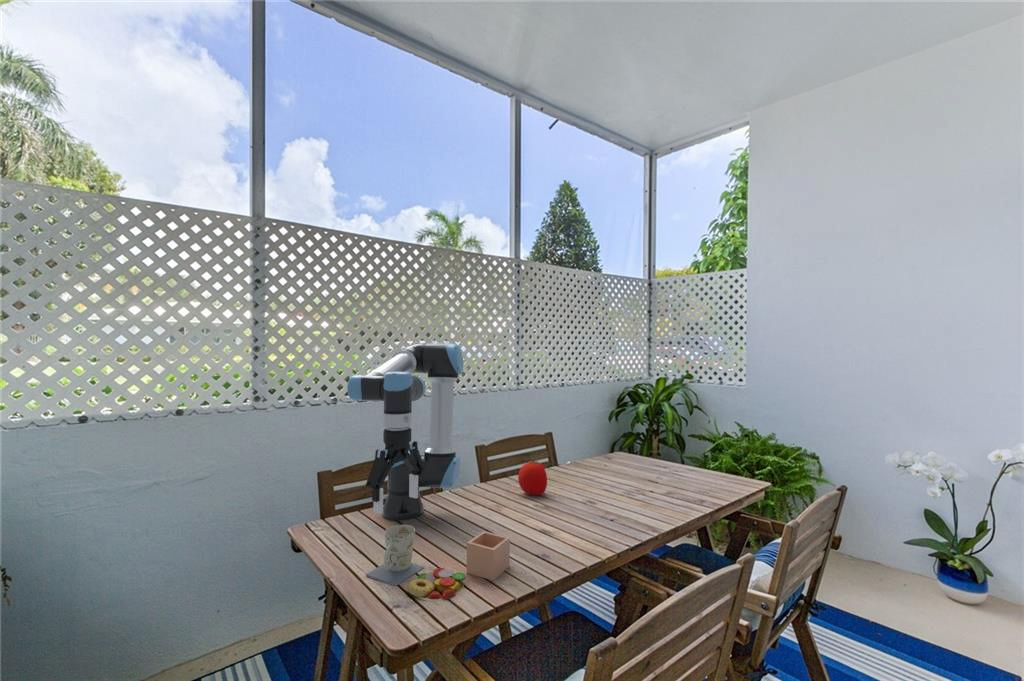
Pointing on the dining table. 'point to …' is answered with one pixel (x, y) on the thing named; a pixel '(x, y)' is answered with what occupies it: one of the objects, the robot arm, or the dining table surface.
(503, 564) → the planter
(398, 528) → the mug
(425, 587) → the toy food set
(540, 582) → the dining table surface
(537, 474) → the tomato
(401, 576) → the coaster
